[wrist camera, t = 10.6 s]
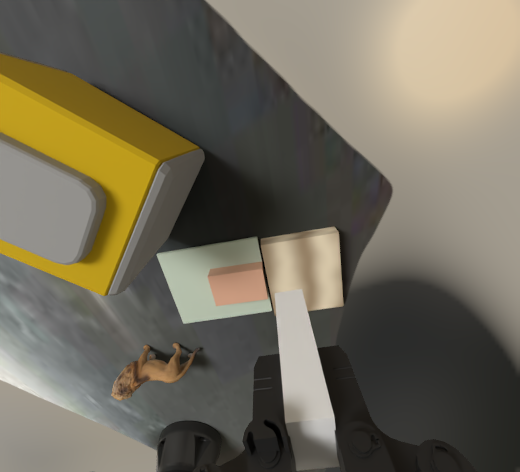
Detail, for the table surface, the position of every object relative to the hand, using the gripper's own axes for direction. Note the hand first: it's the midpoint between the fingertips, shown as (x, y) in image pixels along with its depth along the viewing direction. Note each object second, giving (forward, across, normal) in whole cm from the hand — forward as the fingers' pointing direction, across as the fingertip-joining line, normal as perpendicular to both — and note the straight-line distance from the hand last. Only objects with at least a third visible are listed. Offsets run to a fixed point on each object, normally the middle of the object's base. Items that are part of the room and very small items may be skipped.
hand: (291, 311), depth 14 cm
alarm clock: (+27, -20, +8) cm, 34 cm away
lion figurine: (+27, -27, -28) cm, 47 cm away
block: (+26, -8, -14) cm, 30 cm away
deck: (+26, +3, -14) cm, 30 cm away
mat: (+26, -12, -14) cm, 32 cm away
